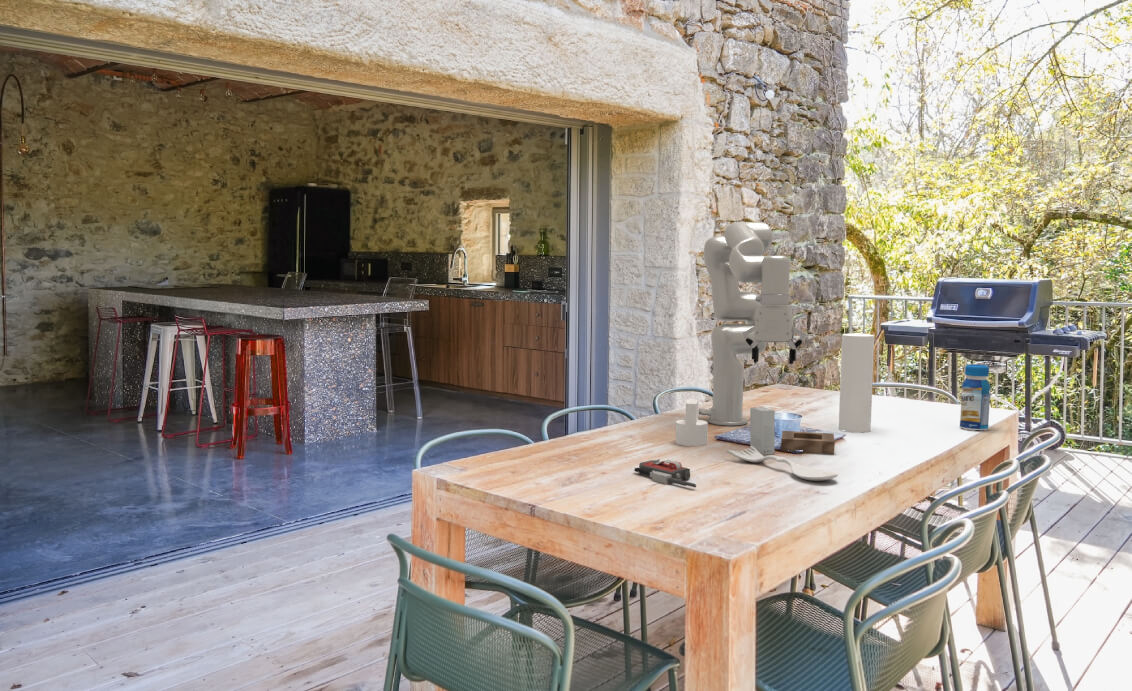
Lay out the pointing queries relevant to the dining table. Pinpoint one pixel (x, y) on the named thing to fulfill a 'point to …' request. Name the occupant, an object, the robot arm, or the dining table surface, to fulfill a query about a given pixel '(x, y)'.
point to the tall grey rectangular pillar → (856, 382)
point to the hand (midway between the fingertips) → (773, 362)
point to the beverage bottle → (975, 398)
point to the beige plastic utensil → (795, 468)
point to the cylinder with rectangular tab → (691, 427)
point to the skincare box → (762, 430)
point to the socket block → (808, 442)
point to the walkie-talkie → (665, 472)
